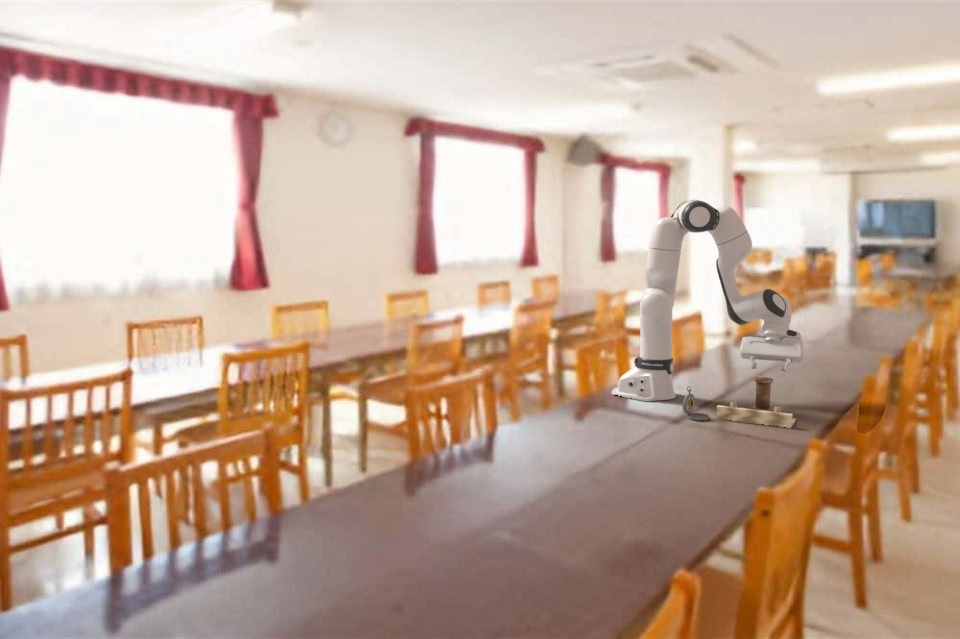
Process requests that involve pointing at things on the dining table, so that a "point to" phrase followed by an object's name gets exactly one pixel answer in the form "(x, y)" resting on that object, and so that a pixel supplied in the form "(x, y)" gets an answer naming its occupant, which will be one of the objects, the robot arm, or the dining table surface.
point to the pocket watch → (689, 408)
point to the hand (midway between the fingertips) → (768, 369)
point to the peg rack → (755, 415)
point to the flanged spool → (763, 394)
